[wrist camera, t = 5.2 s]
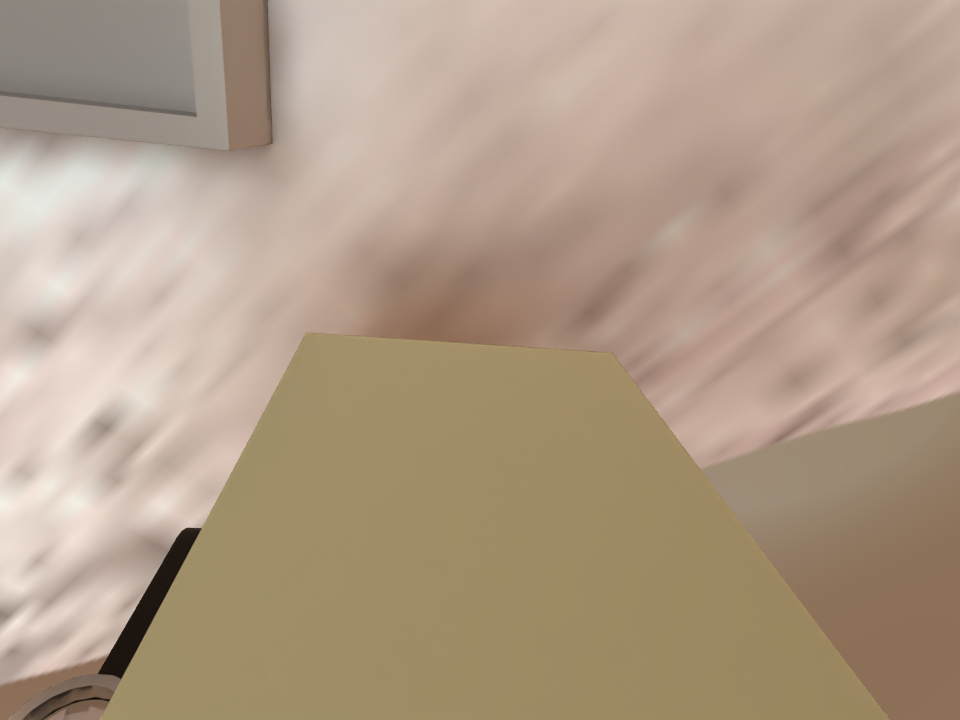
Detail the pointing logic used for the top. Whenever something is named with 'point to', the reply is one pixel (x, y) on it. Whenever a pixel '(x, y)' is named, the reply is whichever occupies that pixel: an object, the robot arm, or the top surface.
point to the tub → (138, 70)
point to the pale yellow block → (475, 559)
